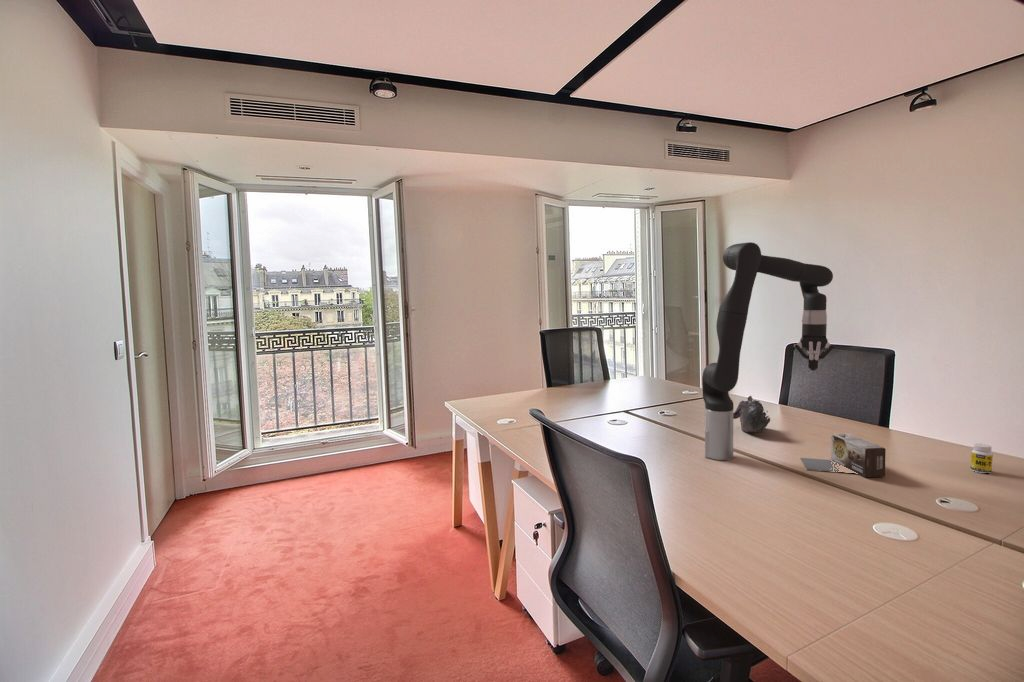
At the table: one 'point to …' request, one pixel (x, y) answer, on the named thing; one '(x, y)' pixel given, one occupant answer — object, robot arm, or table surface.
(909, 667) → the table surface
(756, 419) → the dark grey lumpy sculpture
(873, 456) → the coffee box
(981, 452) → the supplement bottle
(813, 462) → the grey flat sheet
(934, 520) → the table surface
